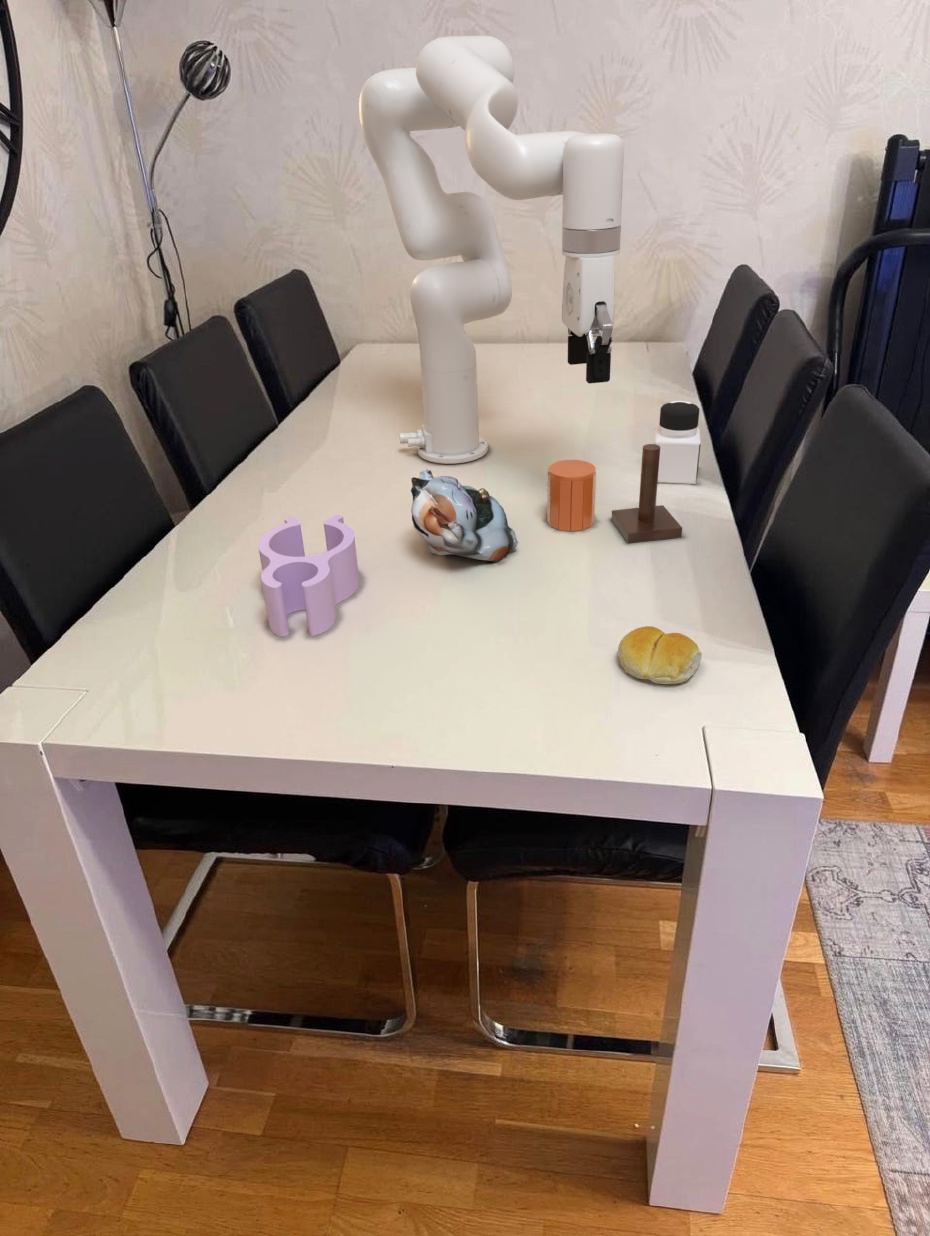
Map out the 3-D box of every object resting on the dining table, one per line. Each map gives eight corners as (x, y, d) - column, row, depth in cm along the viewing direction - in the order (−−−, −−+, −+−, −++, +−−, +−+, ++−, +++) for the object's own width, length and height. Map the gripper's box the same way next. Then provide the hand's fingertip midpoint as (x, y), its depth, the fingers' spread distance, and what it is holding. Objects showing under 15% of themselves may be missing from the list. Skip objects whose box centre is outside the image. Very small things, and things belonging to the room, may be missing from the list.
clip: (349, 634, 110) (342, 585, 106) (247, 638, 110) (238, 588, 106) (364, 558, 127) (359, 514, 123) (276, 561, 127) (269, 517, 123)
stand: (627, 543, 128) (632, 459, 121) (611, 520, 135) (615, 439, 128) (681, 537, 129) (689, 454, 122) (662, 514, 135) (669, 434, 129)
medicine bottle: (696, 484, 144) (704, 412, 138) (651, 482, 146) (656, 411, 140) (695, 468, 150) (703, 398, 144) (652, 466, 152) (657, 396, 146)
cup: (553, 533, 131) (554, 479, 127) (543, 514, 137) (543, 461, 133) (598, 528, 132) (601, 474, 128) (586, 509, 138) (588, 457, 134)
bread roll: (634, 637, 107) (636, 608, 105) (707, 658, 102) (710, 628, 100) (604, 672, 101) (605, 642, 99) (680, 695, 97) (683, 665, 95)
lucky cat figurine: (528, 560, 124) (496, 495, 114) (451, 598, 125) (412, 538, 115) (495, 492, 134) (462, 426, 123) (423, 529, 135) (385, 467, 124)
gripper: (547, 234, 124) (547, 359, 133) (580, 253, 109) (578, 392, 118) (600, 230, 125) (596, 354, 133) (640, 249, 110) (633, 387, 119)
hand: (588, 372), depth 126 cm, fingers open, 9 cm apart
